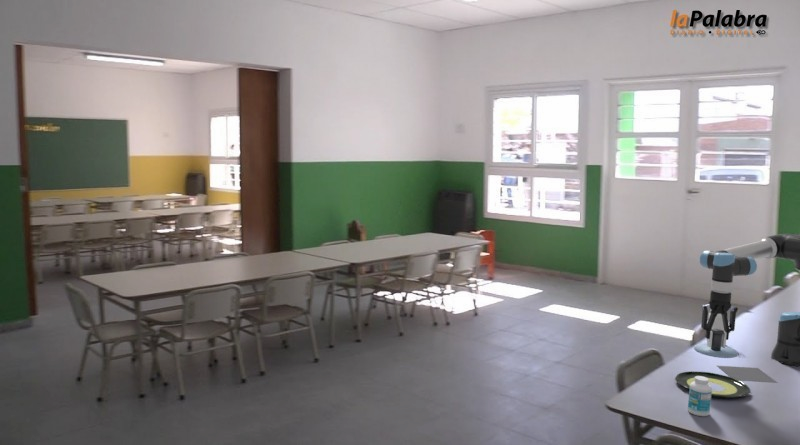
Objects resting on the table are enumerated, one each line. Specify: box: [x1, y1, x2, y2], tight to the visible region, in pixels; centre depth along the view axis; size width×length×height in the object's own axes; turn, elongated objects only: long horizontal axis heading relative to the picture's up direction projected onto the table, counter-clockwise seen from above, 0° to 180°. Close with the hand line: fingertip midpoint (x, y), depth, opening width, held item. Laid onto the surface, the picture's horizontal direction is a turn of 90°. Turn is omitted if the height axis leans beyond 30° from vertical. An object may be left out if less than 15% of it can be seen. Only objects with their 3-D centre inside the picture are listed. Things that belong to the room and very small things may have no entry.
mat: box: [716, 365, 778, 384], centre depth 280 cm, size 18×18×1 cm
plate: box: [674, 371, 751, 399], centre depth 264 cm, size 28×28×2 cm
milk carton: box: [707, 309, 729, 331], centre depth 324 cm, size 7×7×19 cm
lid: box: [693, 329, 739, 359], centre depth 262 cm, size 16×16×9 cm
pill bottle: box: [687, 376, 713, 417], centre depth 237 cm, size 8×7×14 cm
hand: (716, 346), depth 262 cm, fingers closed on lid, 5 cm apart
